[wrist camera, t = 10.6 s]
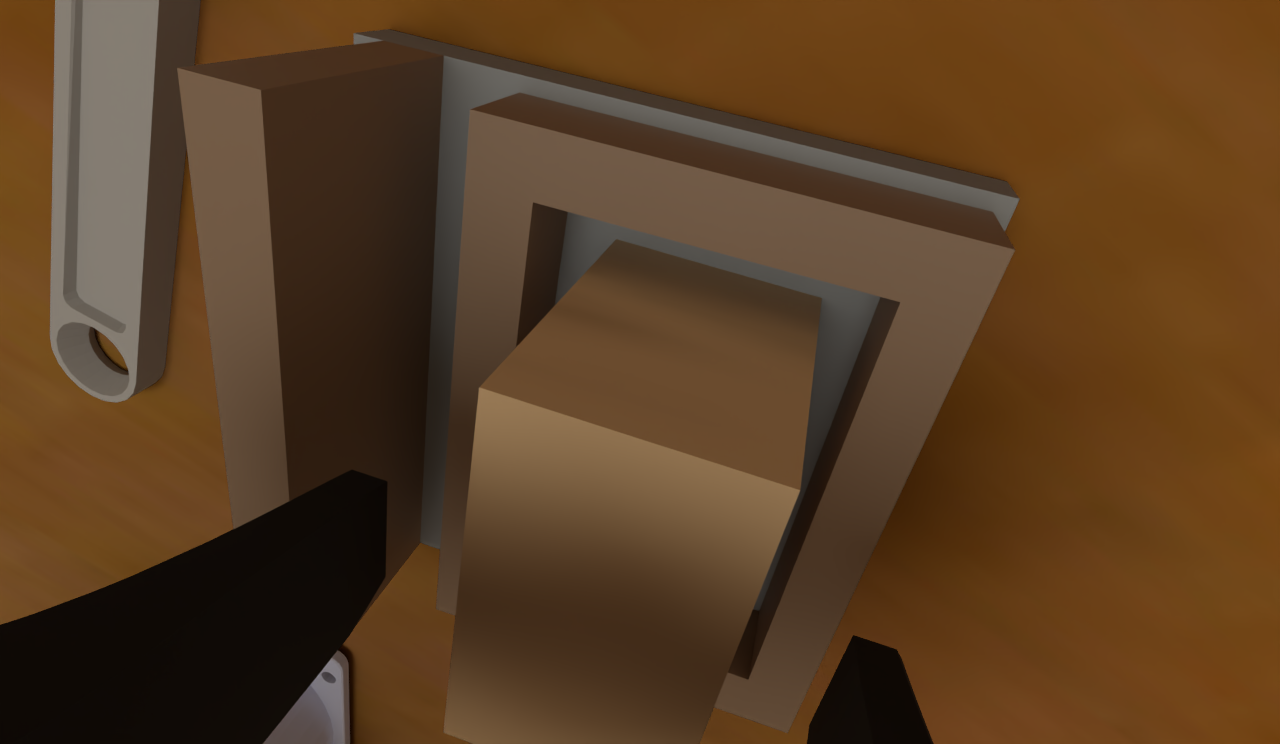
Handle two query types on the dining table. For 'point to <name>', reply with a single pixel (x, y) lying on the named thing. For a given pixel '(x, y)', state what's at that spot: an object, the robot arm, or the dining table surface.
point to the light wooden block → (627, 502)
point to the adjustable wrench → (117, 185)
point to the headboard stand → (557, 287)
